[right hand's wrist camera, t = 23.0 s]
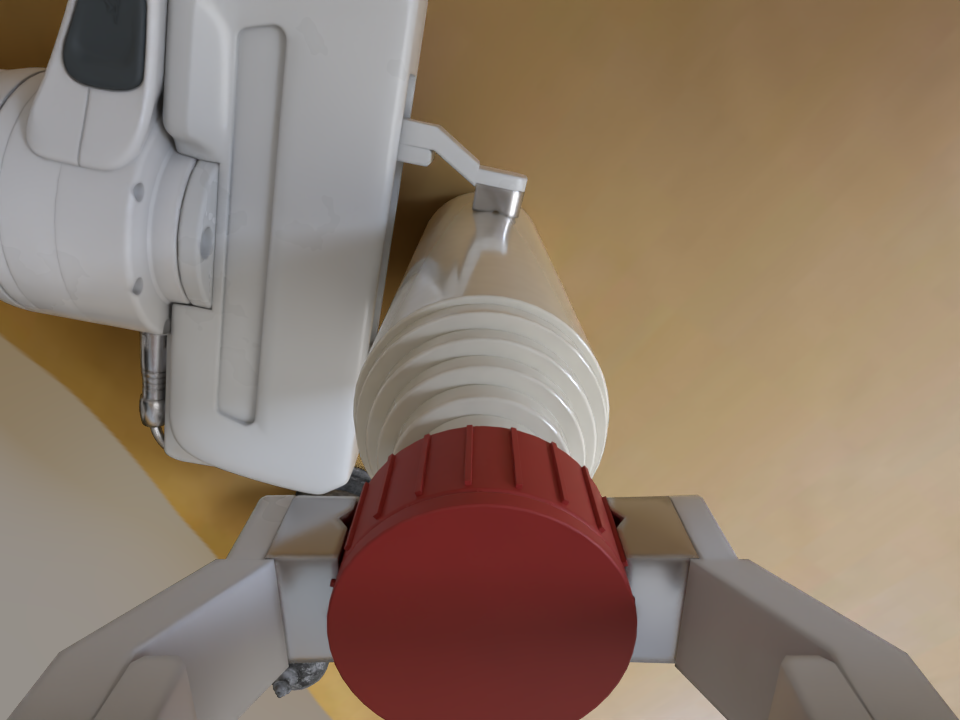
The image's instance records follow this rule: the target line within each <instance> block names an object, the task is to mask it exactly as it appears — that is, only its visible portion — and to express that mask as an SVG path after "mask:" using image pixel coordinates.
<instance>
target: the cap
mask: <svg viewBox="0 0 960 720" xmlns="http://www.w3.org/2000/svg"><path fill="white" fill-rule="evenodd" d="M344 550H345V552H344V555H343V559H342V562H341V565H340V568H339V572H338V574H337V577H336V581H334V580H331V582H330V587H333V590H332V594H331V597H330V600H329V606H328V612H327V637H328V642H329V648H330V651H331V654H332V657H333V660H334V663H335V665H336V667H337V669H338V671H339V673H340V675H341V677H342V679H343V680H344V681H345V683H346V684H347V686H348V687H349V688H350V690H351V691H352V692H353V693H354V694H355V695H356V696H357V697H358V699H359V700H360V701H361V702H362V703H363V704H364V705H366V706H367V707H368V708H369V709H371V710H372V711H373V712H374V713H376V714H377V715H378V716H380V717H381V718H383V719H385V720H579V719H581V718H583V717H584V716H585V715H587V714H588V713H589V712H591V711H592V710H593V709H595V708H596V707H597V706H598V705H599V704H600V703H601V702H602V701H603V700H604V699H605V698H606V697H608V696H609V694H610V693H611V692H612V691H613V689H614V688H615V687H616V686H617V684H618V683H619V681H620V680H621V678H622V676H623V675H624V673H625V671H626V669H627V667H628V665H629V662H630V660H631V657H632V655H633V651H634V647H635V642H636V638H637V612H636V605H635V597H633V594H632V591H631V588H630V584H629V581H628V578H627V575H626V572H625V568H624V567H626V566H628V563H627V560H626V557H625V554H624V551H623V548H622V545H621V542H620V539H619V536H618V533H617V529H616V525H615V522H614V519H613V516H612V513H611V511H610V508H609V505H608V501H607V498H606V496H605V497H601V495H600V492H599V490H598V488H597V486H596V485H595V483H594V482H593V480H592V479H591V477H590V475H589V471H588V468H587V467H586V466H585V465H584V466H583V467H581V466H580V464H579V463H578V462H576V461H575V460H574V459H573V458H572V457H570V456H569V455H568V454H567V453H566V452H564V451H562V450H561V449H559V448H558V447H557V444H556V443H554V442H553V441H552V442H551V443H549V442H547V441H545V440H543V439H541V438H539V437H536V436H534V435H531V434H528V433H525V432H522V431H518V430H517V429H516V428H513V427H511V429H508V428H503V427H491V426H473V425H467V427H462V428H455V429H449V430H446V431H442V432H439V433H435V434H432V435H430V434H426V435H424V438H422V439H420V440H418V441H416V442H414V443H413V444H411V445H409V446H407V447H406V448H404V449H402V450H401V451H399V452H398V453H397V454H396V455H394V454H393V453H392V454H391V455H390V456H389V457H388V460H387V462H386V463H385V464H384V465H383V466H382V467H381V468H380V469H379V470H378V471H377V473H376V474H375V475H374V477H373V478H372V479H371V481H370V482H369V483H368V482H365V484H364V485H363V488H362V491H361V495H360V498H359V501H358V504H357V508H356V511H355V514H354V517H353V521H352V524H351V527H350V530H349V534H348V537H347V540H346V543H345V547H344Z"/></svg>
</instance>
